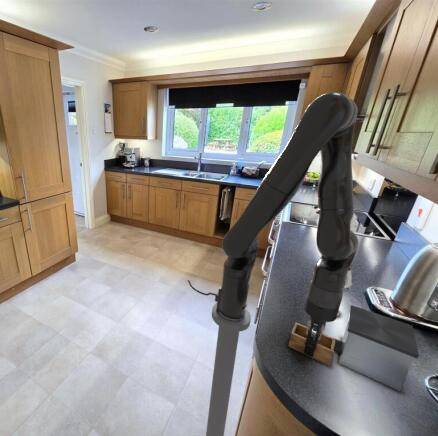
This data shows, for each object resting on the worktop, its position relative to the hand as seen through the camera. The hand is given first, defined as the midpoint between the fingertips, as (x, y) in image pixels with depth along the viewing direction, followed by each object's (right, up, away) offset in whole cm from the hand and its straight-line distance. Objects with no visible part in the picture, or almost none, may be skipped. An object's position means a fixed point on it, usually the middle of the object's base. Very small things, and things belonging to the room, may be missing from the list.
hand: (310, 347), depth 71 cm
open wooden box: (0, -1, 0) cm, 1 cm away
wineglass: (+18, +4, +17) cm, 25 cm away
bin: (+14, -2, -4) cm, 14 cm away
